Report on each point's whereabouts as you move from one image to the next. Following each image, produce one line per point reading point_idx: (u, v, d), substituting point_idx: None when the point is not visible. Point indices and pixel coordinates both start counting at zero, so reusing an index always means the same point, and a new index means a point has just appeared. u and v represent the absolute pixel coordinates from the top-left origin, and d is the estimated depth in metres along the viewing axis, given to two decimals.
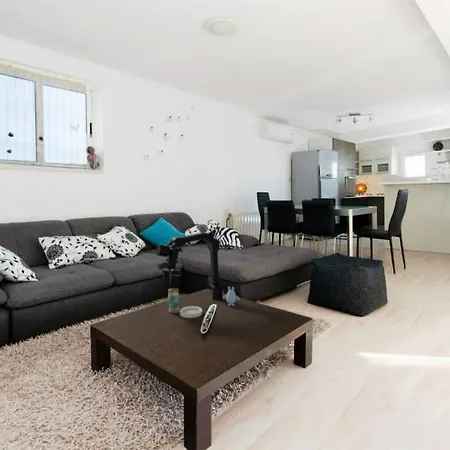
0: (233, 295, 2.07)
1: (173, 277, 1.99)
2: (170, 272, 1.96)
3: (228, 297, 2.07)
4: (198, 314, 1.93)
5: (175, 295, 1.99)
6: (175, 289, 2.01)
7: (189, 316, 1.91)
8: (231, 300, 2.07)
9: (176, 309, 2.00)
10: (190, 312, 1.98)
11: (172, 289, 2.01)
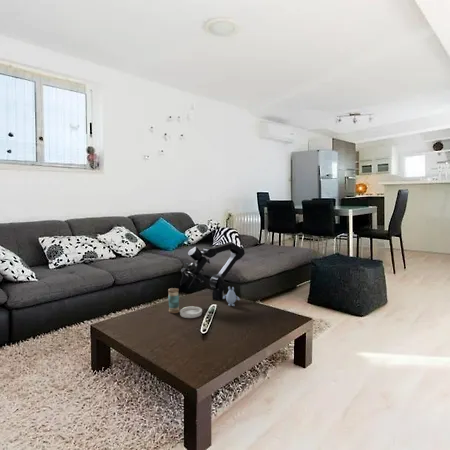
0: (233, 295, 2.07)
1: (195, 281, 2.03)
2: (196, 274, 2.02)
3: (228, 297, 2.07)
4: (198, 314, 1.93)
5: (175, 295, 1.99)
6: (175, 289, 2.01)
7: (189, 316, 1.91)
8: (231, 300, 2.07)
9: (176, 309, 2.00)
10: (190, 312, 1.98)
11: (172, 289, 2.01)
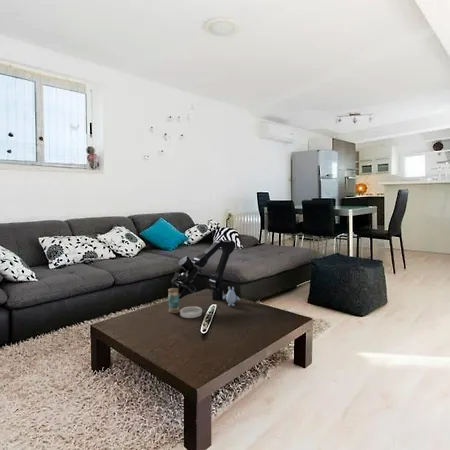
0: (233, 295, 2.07)
1: (185, 291, 2.00)
2: (186, 284, 1.98)
3: (228, 297, 2.07)
4: (198, 314, 1.93)
5: (175, 295, 1.99)
6: (175, 289, 2.01)
7: (189, 316, 1.91)
8: (231, 300, 2.07)
9: (176, 309, 2.00)
10: (190, 312, 1.98)
11: (172, 289, 2.01)
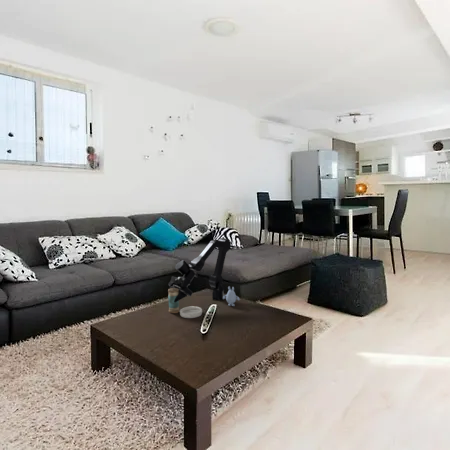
0: (233, 295, 2.07)
1: (181, 295, 1.99)
2: (183, 289, 1.96)
3: (228, 297, 2.07)
4: (198, 314, 1.93)
5: (175, 295, 1.99)
6: (175, 289, 2.01)
7: (189, 316, 1.91)
8: (231, 300, 2.07)
9: (176, 309, 2.00)
10: (190, 312, 1.98)
11: (172, 289, 2.01)
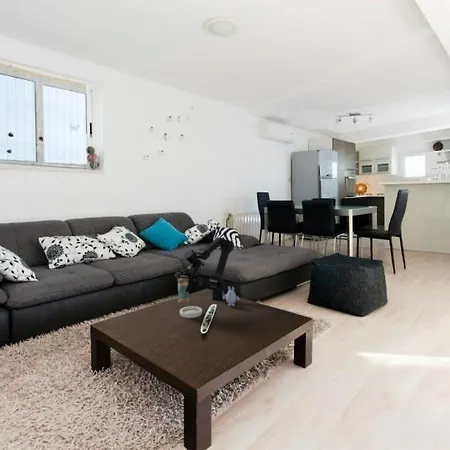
0: (233, 295, 2.07)
1: (191, 284, 1.96)
2: (195, 278, 1.94)
3: (228, 297, 2.07)
4: (198, 314, 1.93)
5: (186, 285, 1.95)
6: (185, 279, 1.97)
7: (189, 316, 1.91)
8: (231, 300, 2.07)
9: (187, 299, 1.96)
10: (190, 312, 1.98)
11: (182, 279, 1.97)
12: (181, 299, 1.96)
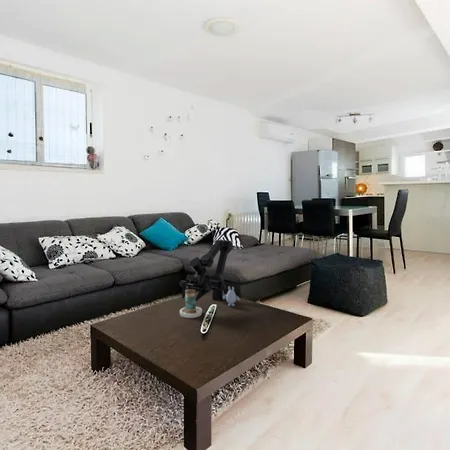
0: (233, 295, 2.07)
1: (201, 293, 1.95)
2: (203, 286, 1.94)
3: (228, 297, 2.07)
4: (198, 314, 1.93)
5: (194, 296, 1.95)
6: (192, 290, 1.97)
7: (189, 316, 1.91)
8: (231, 300, 2.07)
9: (194, 310, 1.96)
10: None
11: (189, 290, 1.96)
12: (189, 310, 1.95)
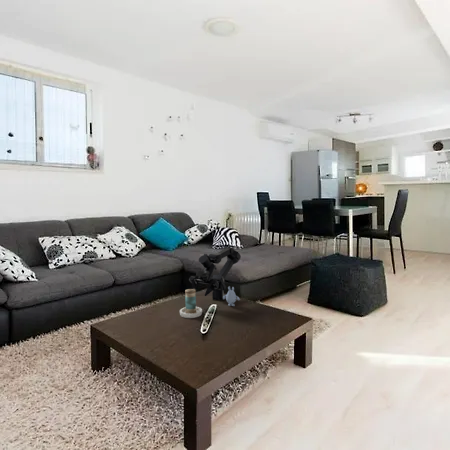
0: (233, 295, 2.07)
1: (210, 288, 2.04)
2: (212, 281, 2.02)
3: (228, 297, 2.07)
4: (198, 314, 1.93)
5: (194, 296, 1.95)
6: (192, 290, 1.97)
7: (189, 316, 1.91)
8: (231, 300, 2.07)
9: (194, 310, 1.96)
10: None
11: (189, 290, 1.96)
12: (189, 310, 1.95)
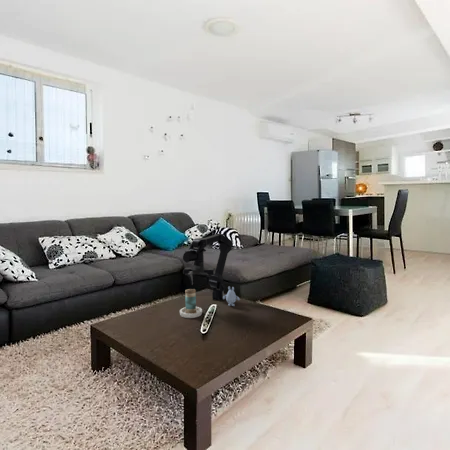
0: (233, 295, 2.07)
1: (208, 276, 2.08)
2: (210, 273, 2.04)
3: (228, 297, 2.07)
4: (198, 314, 1.93)
5: (194, 296, 1.95)
6: (192, 290, 1.97)
7: (189, 316, 1.91)
8: (231, 300, 2.07)
9: (194, 310, 1.96)
10: None
11: (189, 290, 1.96)
12: (189, 310, 1.95)
